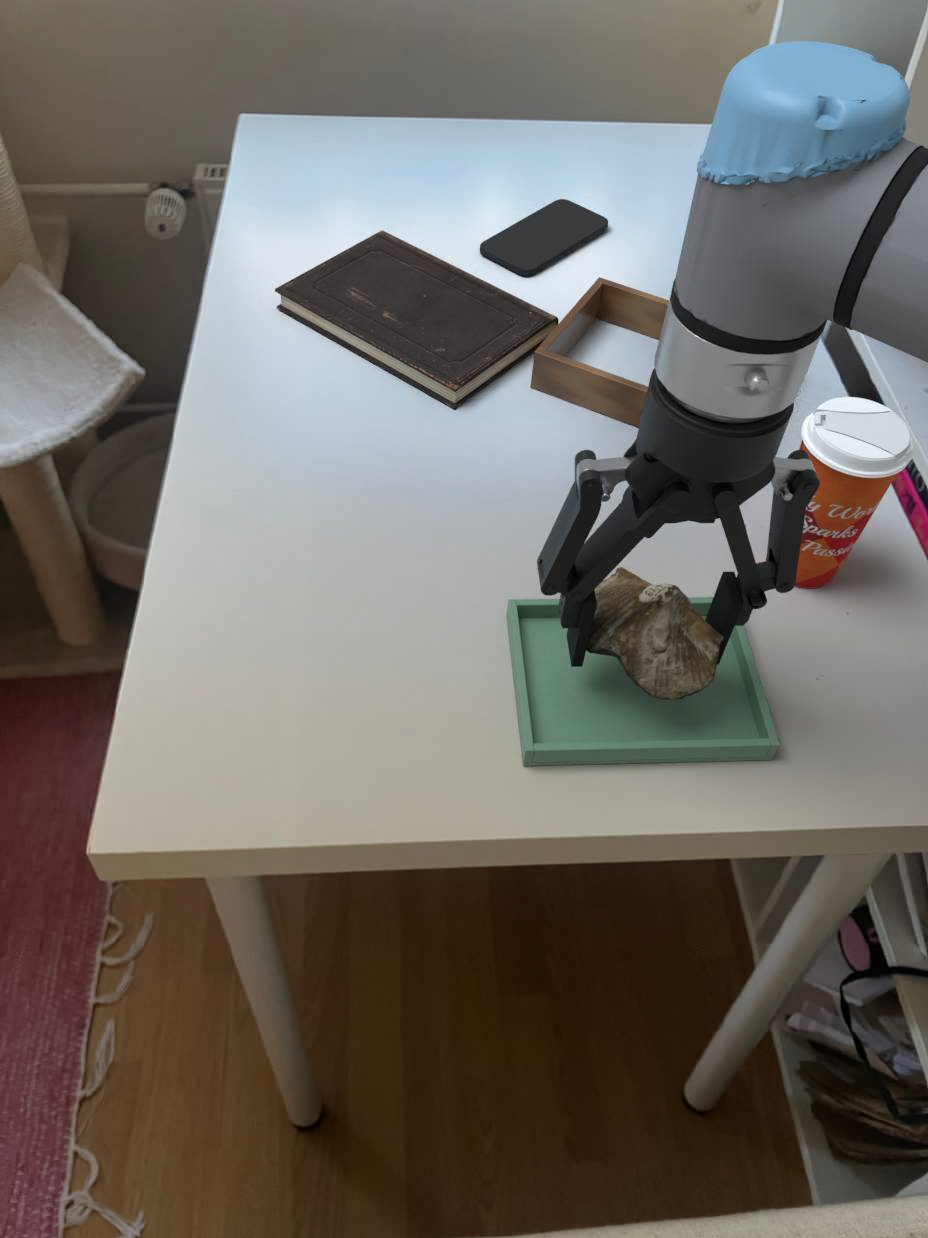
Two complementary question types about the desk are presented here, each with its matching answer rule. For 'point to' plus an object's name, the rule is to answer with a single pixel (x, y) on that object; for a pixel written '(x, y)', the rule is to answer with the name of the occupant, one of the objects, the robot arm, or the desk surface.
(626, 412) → the rectangular frame
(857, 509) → the paper cup
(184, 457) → the desk surface
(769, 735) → the tray
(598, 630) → the fossilized seashell
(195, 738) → the desk surface
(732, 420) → the robot arm
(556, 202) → the phone
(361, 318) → the hardcover book
